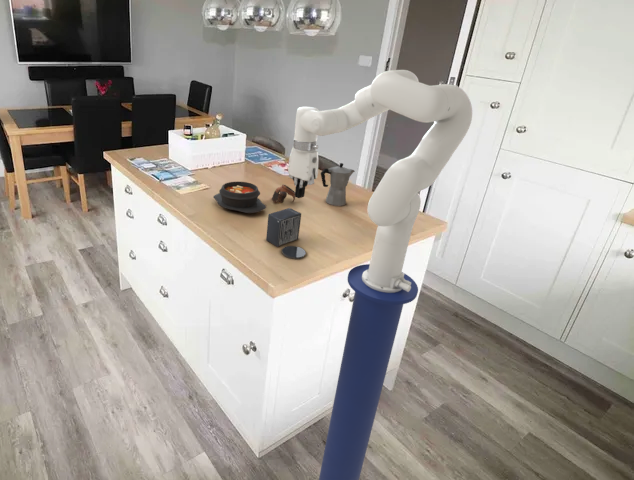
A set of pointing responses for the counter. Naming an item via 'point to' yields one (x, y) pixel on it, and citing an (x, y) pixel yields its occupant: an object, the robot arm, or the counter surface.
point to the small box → (283, 226)
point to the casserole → (240, 197)
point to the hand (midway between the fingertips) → (299, 196)
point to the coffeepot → (337, 184)
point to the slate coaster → (293, 252)
